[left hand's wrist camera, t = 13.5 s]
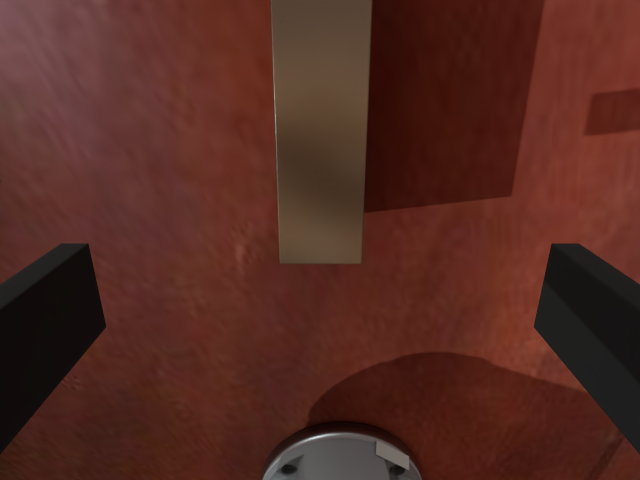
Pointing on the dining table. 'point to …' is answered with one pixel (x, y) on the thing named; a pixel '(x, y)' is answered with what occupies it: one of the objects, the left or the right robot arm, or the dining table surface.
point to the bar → (321, 127)
